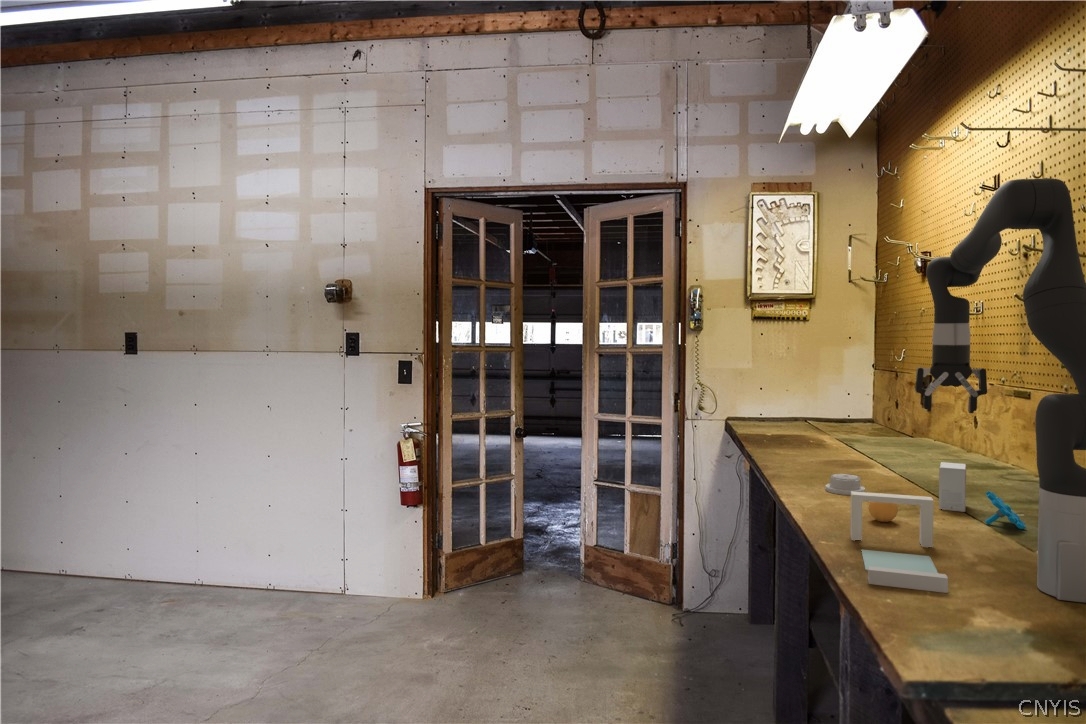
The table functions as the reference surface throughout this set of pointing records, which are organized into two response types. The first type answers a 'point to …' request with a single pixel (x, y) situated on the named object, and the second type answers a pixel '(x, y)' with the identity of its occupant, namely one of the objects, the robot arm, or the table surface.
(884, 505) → the ball
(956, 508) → the small box
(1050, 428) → the robot arm
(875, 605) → the table surface
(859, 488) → the mechanical component
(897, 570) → the stopper wall
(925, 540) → the bridge
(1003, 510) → the blue branched figurine
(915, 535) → the table surface
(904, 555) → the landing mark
